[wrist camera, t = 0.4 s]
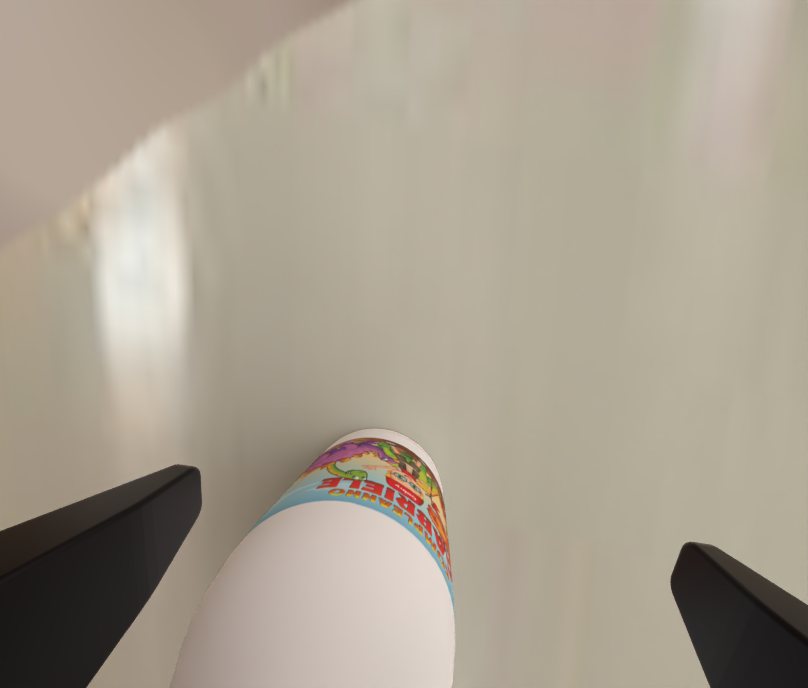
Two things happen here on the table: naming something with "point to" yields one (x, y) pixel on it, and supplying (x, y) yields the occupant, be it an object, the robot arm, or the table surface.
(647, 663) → the table surface
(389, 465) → the milk bottle
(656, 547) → the table surface
